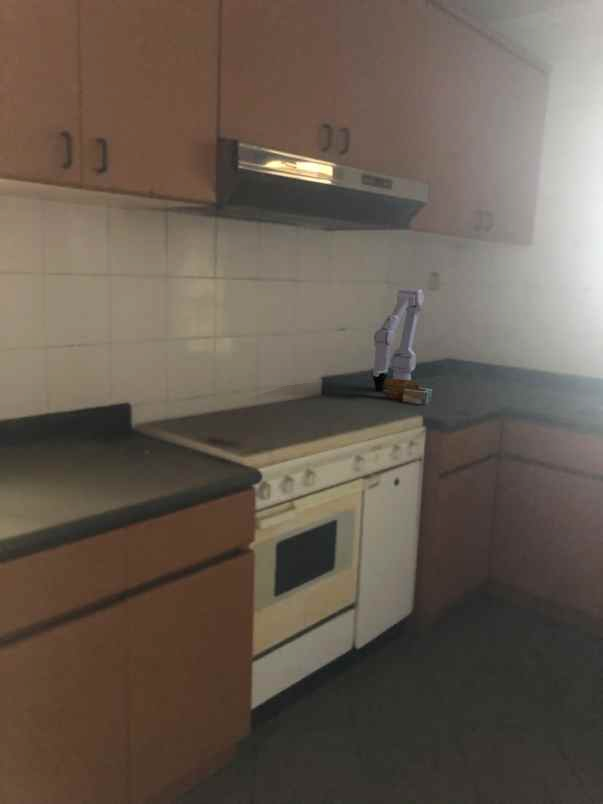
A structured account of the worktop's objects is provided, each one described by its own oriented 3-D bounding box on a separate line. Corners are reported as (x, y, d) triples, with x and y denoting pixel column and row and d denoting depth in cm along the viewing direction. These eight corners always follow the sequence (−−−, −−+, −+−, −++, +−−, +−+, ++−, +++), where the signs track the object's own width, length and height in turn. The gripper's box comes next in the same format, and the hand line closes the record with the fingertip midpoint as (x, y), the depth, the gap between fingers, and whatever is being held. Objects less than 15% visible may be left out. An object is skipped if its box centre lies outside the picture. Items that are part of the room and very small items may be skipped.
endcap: (408, 397, 276) (409, 386, 275) (430, 401, 273) (432, 389, 272) (402, 401, 267) (403, 389, 266) (426, 405, 264) (427, 392, 263)
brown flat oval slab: (381, 397, 273) (383, 377, 271) (382, 396, 276) (384, 376, 274) (417, 402, 269) (420, 381, 267) (418, 400, 272) (421, 380, 270)
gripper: (377, 356, 281) (374, 387, 283) (367, 359, 267) (364, 392, 270) (393, 358, 278) (390, 389, 281) (384, 361, 265) (381, 395, 268)
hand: (378, 391), depth 275 cm, fingers closed, pressing on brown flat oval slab
